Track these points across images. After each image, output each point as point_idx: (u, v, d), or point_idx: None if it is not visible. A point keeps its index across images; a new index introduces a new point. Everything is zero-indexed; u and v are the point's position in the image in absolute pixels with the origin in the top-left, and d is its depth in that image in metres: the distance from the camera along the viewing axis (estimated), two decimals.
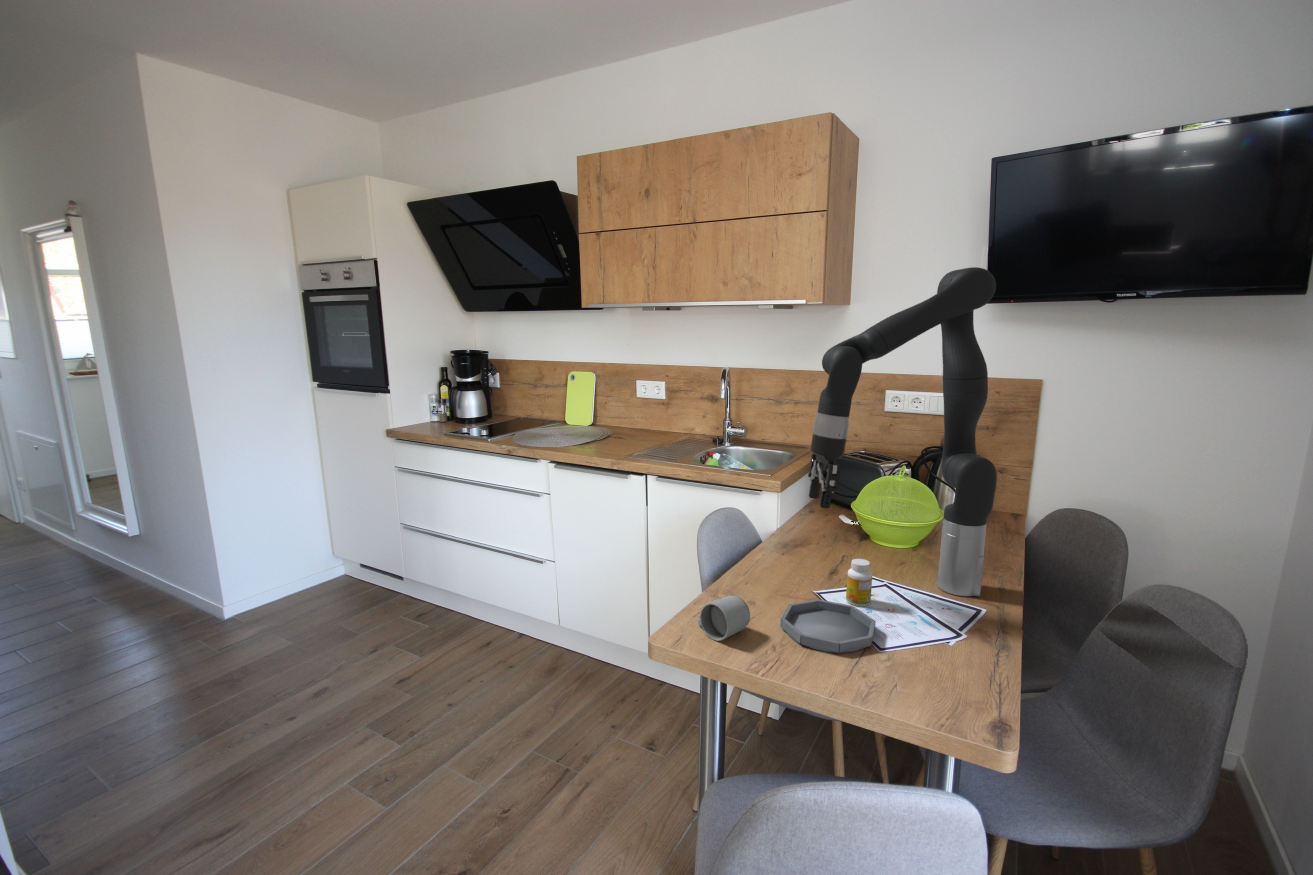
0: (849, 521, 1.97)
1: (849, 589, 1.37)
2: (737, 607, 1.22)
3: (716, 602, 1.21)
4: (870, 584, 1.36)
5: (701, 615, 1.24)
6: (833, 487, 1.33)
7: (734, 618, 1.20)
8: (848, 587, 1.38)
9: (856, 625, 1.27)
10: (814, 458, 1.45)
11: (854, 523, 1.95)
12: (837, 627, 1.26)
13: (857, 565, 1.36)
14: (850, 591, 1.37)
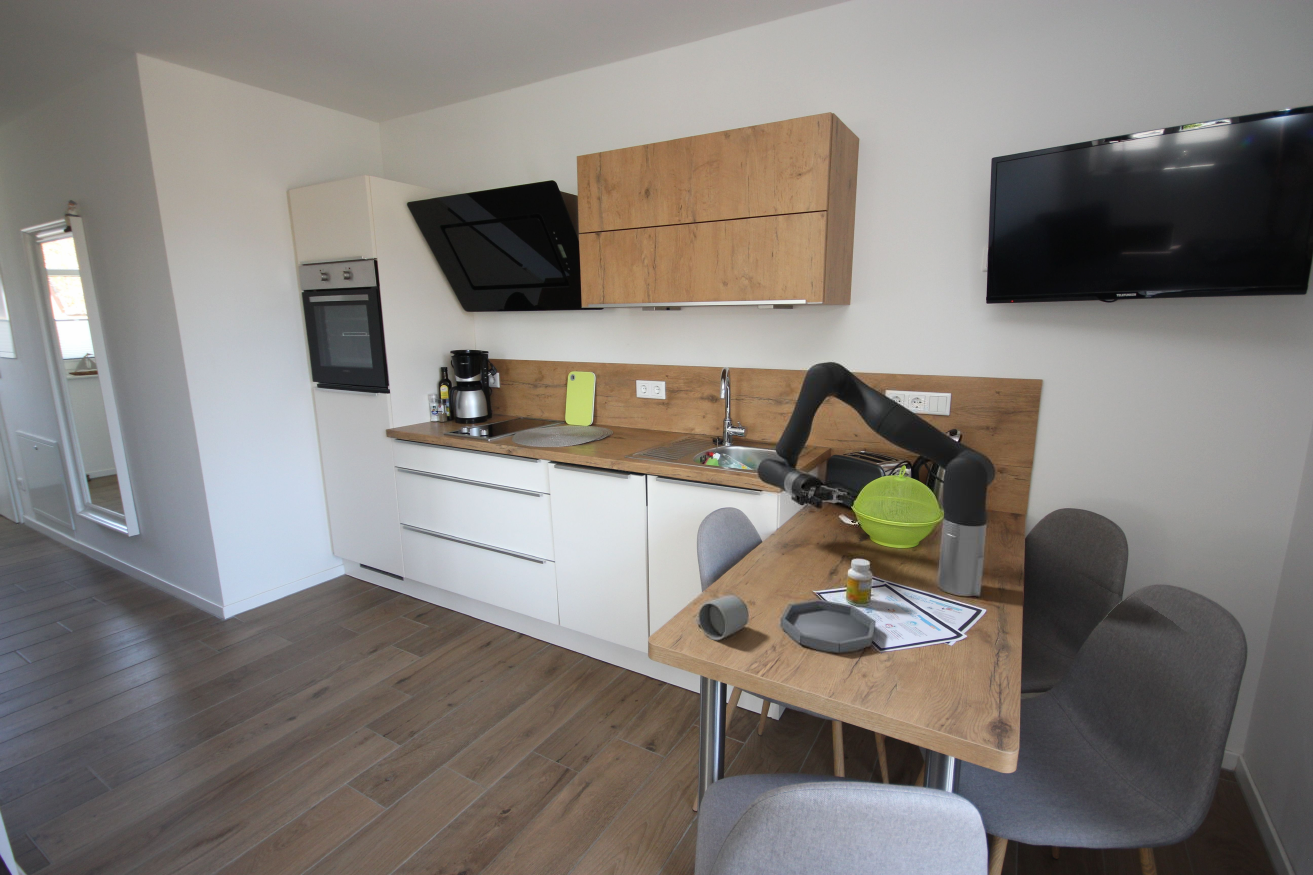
0: (849, 521, 1.98)
1: (849, 589, 1.37)
2: (735, 607, 1.22)
3: (714, 601, 1.22)
4: (870, 584, 1.36)
5: (700, 614, 1.24)
6: None
7: (732, 617, 1.20)
8: (848, 587, 1.38)
9: (856, 625, 1.27)
10: None
11: (854, 523, 1.95)
12: (837, 627, 1.26)
13: (857, 565, 1.36)
14: (850, 591, 1.37)
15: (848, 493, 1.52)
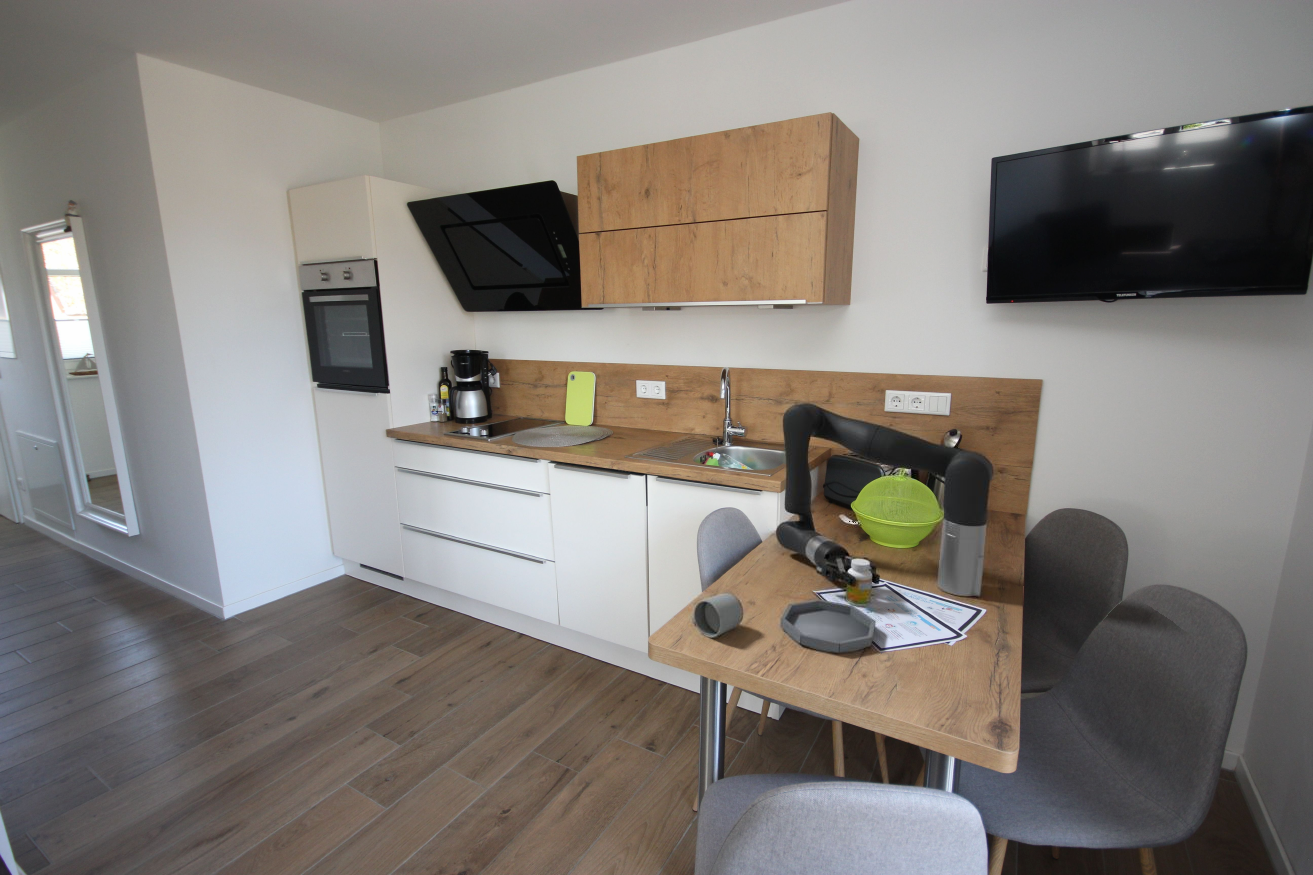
0: None
1: (849, 589, 1.37)
2: (730, 604, 1.23)
3: (709, 599, 1.23)
4: (870, 584, 1.36)
5: (695, 612, 1.25)
6: (831, 573, 1.39)
7: (727, 615, 1.21)
8: (848, 587, 1.38)
9: (856, 625, 1.27)
10: None
11: (854, 523, 1.95)
12: (837, 627, 1.26)
13: (857, 565, 1.36)
14: (850, 591, 1.37)
15: (872, 567, 1.41)
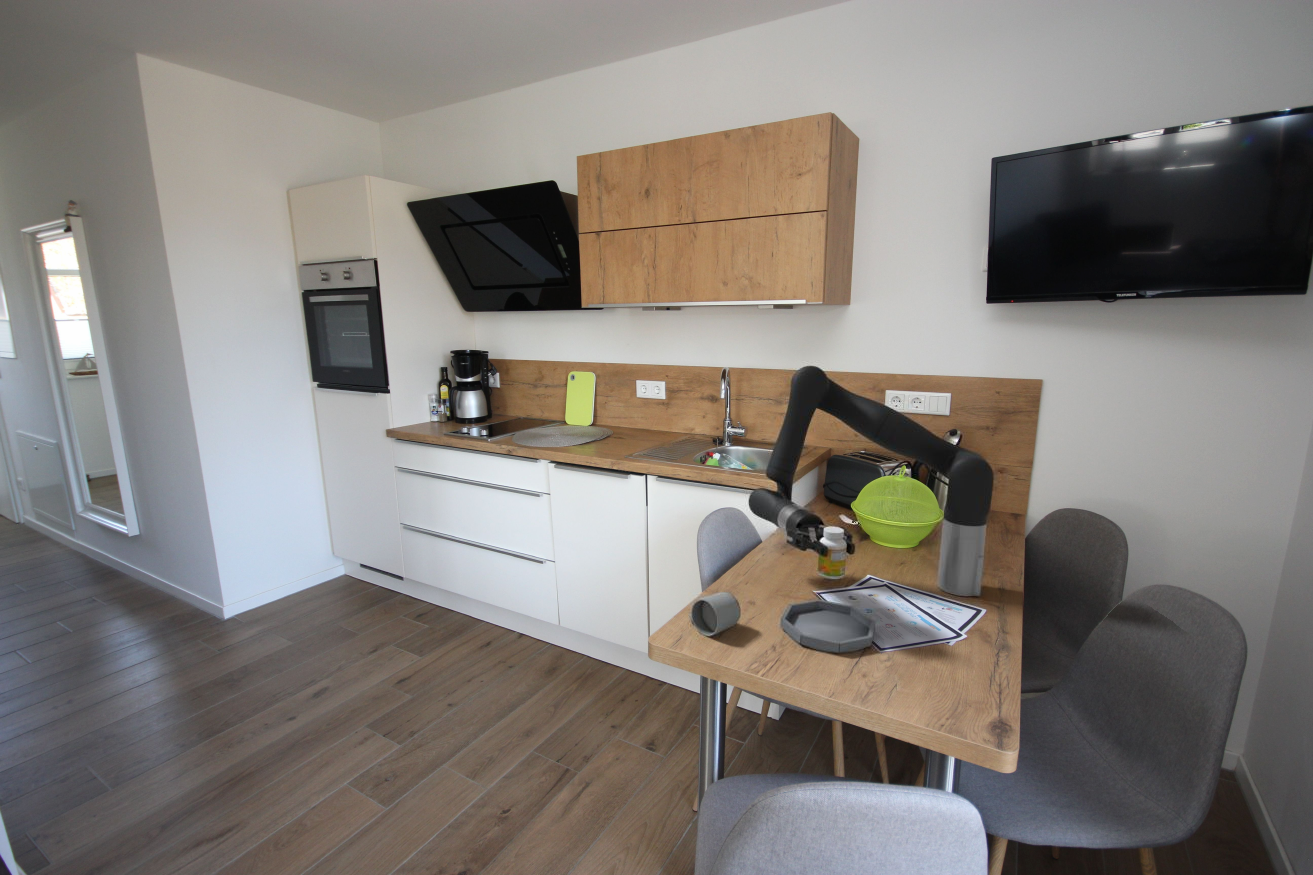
0: (849, 521, 1.98)
1: (821, 560, 1.24)
2: (728, 603, 1.24)
3: (707, 598, 1.23)
4: (844, 554, 1.23)
5: (692, 611, 1.26)
6: (801, 542, 1.25)
7: (724, 614, 1.22)
8: (820, 558, 1.24)
9: (856, 625, 1.27)
10: None
11: (855, 523, 1.95)
12: (837, 627, 1.26)
13: (829, 533, 1.22)
14: (822, 562, 1.23)
15: (848, 536, 1.27)
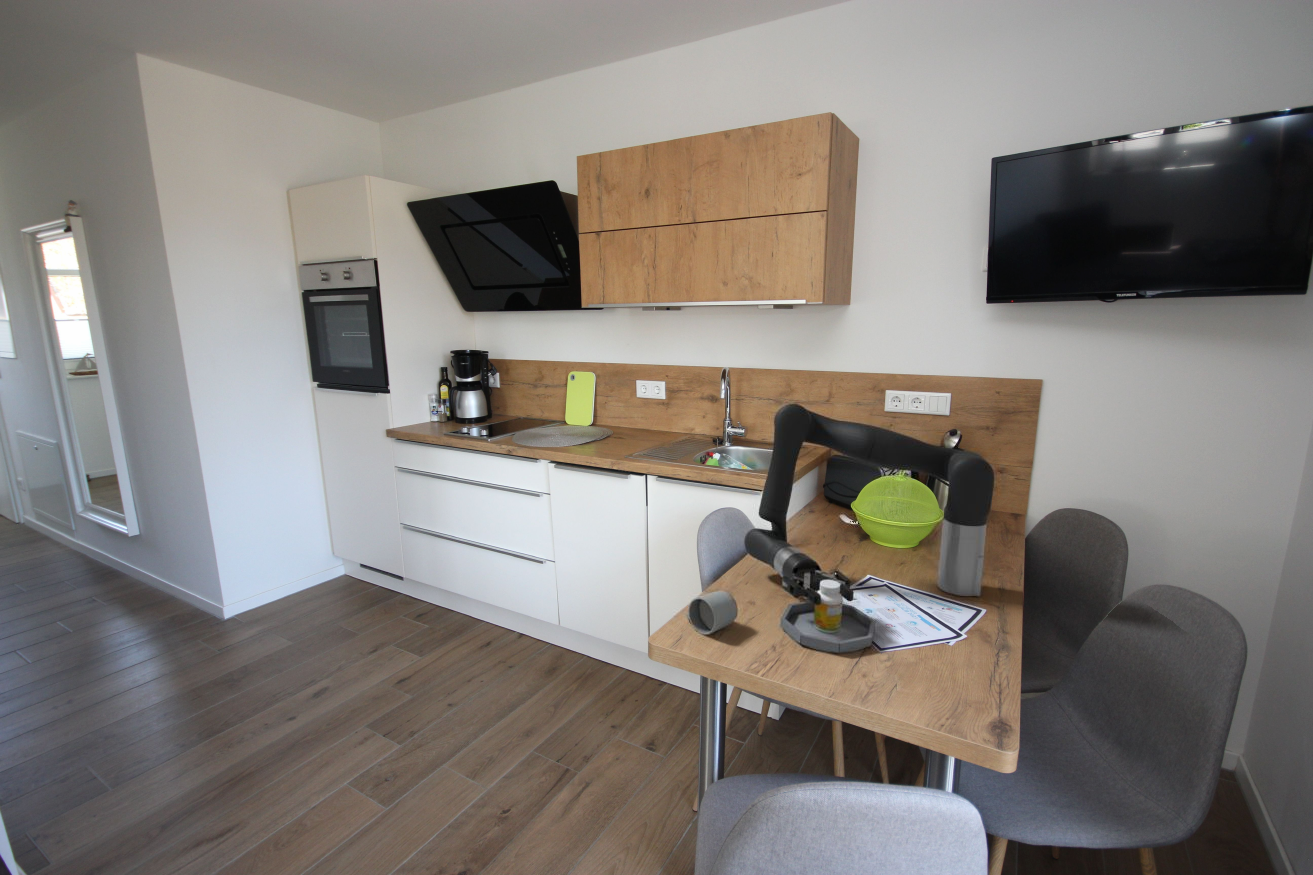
0: None
1: (817, 614, 1.24)
2: (724, 602, 1.24)
3: (704, 597, 1.24)
4: (840, 608, 1.23)
5: (689, 609, 1.26)
6: None
7: (721, 612, 1.22)
8: (816, 611, 1.24)
9: (856, 625, 1.27)
10: None
11: (855, 523, 1.95)
12: None
13: (825, 588, 1.22)
14: (818, 616, 1.24)
15: (846, 582, 1.28)
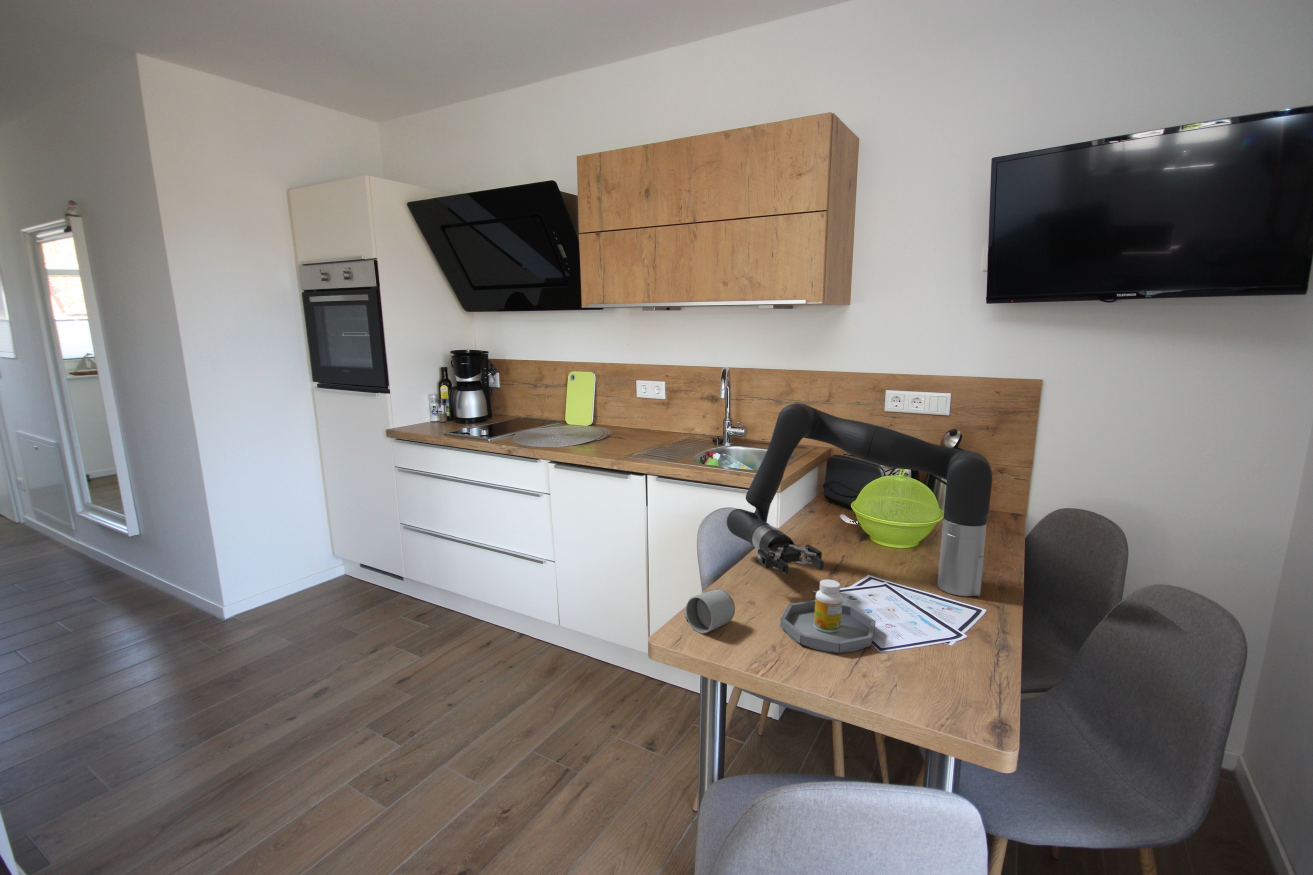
0: None
1: (817, 614, 1.24)
2: (722, 601, 1.25)
3: (701, 595, 1.24)
4: (840, 608, 1.23)
5: (687, 608, 1.27)
6: None
7: (718, 611, 1.23)
8: (816, 611, 1.24)
9: (856, 625, 1.27)
10: None
11: (855, 523, 1.95)
12: None
13: (825, 587, 1.23)
14: (819, 615, 1.24)
15: (818, 554, 1.41)
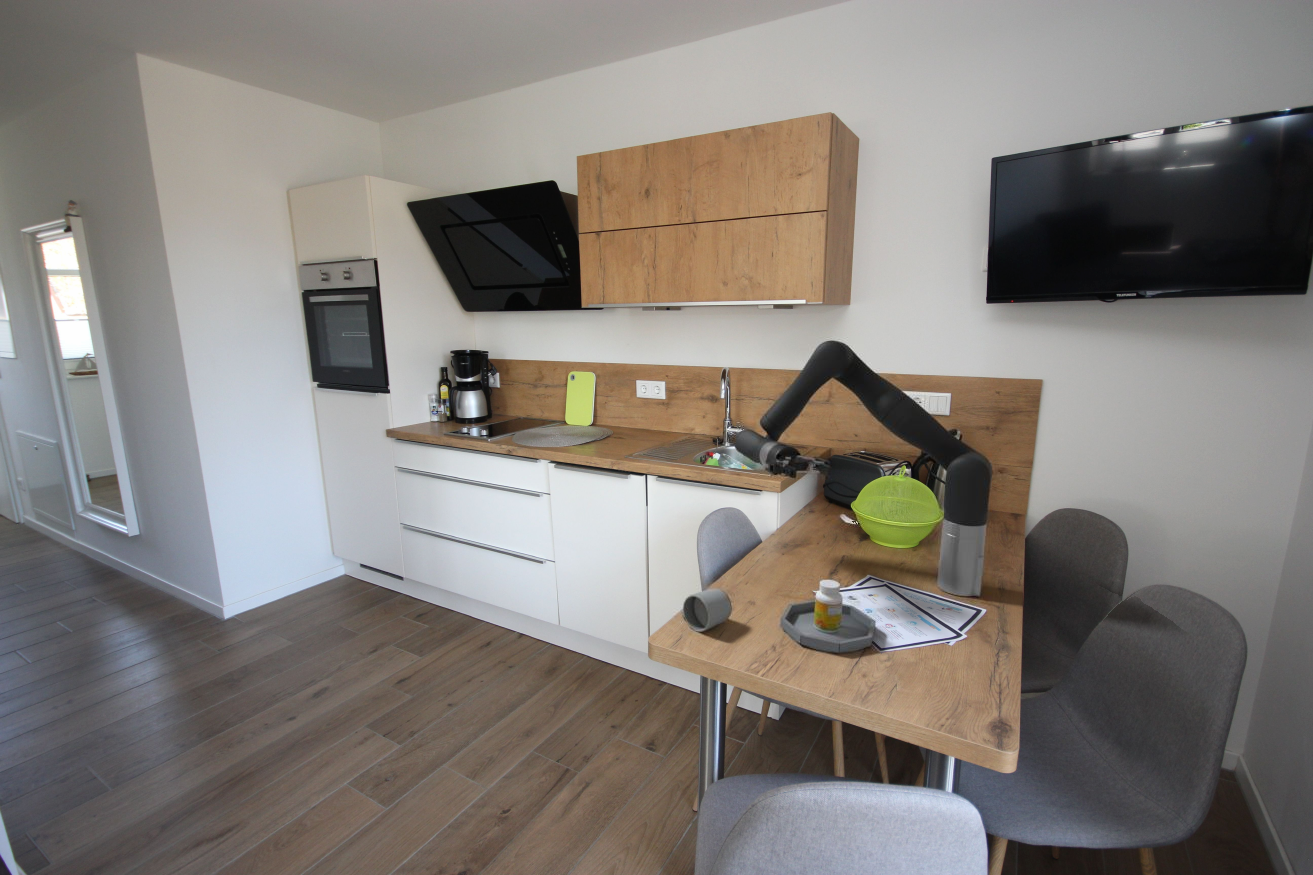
0: (850, 521, 1.98)
1: (818, 614, 1.24)
2: (719, 599, 1.25)
3: (698, 594, 1.25)
4: (840, 608, 1.23)
5: (684, 607, 1.27)
6: None
7: (715, 610, 1.24)
8: (816, 612, 1.24)
9: (856, 625, 1.27)
10: None
11: None
12: None
13: (826, 588, 1.22)
14: (819, 616, 1.24)
15: (826, 463, 1.41)
